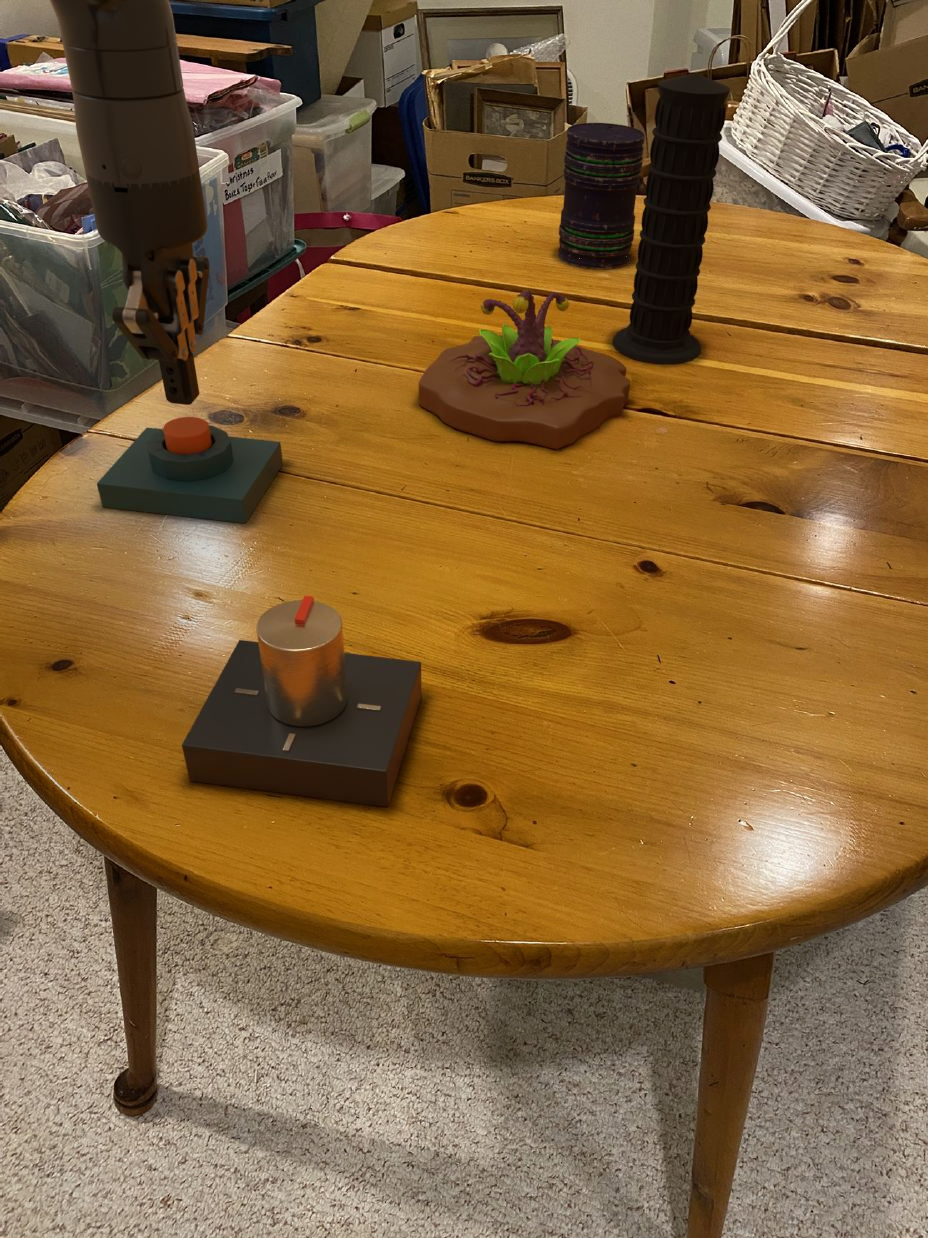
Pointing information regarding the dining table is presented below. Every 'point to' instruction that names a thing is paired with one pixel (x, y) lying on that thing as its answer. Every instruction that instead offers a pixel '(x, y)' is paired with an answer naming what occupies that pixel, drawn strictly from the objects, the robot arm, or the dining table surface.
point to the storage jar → (600, 194)
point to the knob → (303, 662)
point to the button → (187, 435)
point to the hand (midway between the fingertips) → (183, 400)
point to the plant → (524, 381)
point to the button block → (192, 477)
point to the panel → (307, 733)
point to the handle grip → (674, 220)
